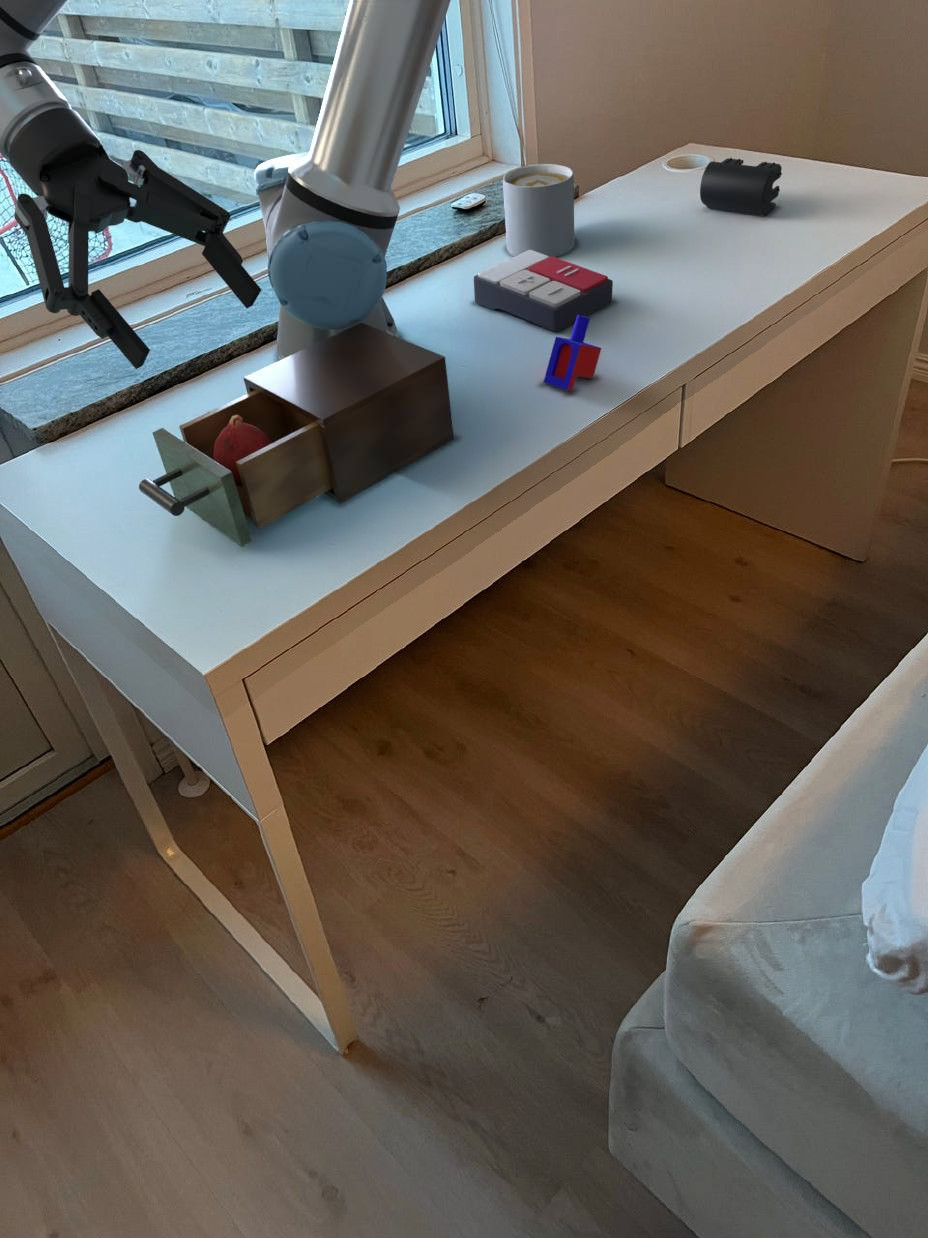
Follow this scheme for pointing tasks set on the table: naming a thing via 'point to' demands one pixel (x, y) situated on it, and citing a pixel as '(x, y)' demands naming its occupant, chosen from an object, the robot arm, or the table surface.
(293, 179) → the robot arm
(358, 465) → the cabinet
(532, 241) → the coffee mug
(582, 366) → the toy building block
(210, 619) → the table surface
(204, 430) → the drawer
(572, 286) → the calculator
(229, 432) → the onion
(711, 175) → the end cap
